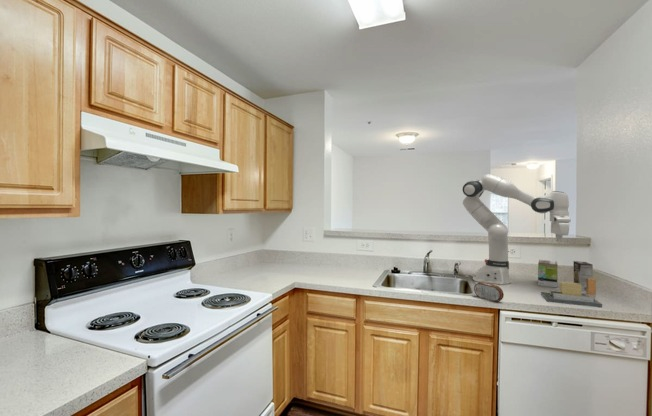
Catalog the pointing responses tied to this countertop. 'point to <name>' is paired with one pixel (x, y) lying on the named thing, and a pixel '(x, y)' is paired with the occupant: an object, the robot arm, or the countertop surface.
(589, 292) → the sliding jaw
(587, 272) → the coffee box
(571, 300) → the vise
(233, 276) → the countertop surface
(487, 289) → the tin
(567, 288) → the brass block
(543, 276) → the tea box
